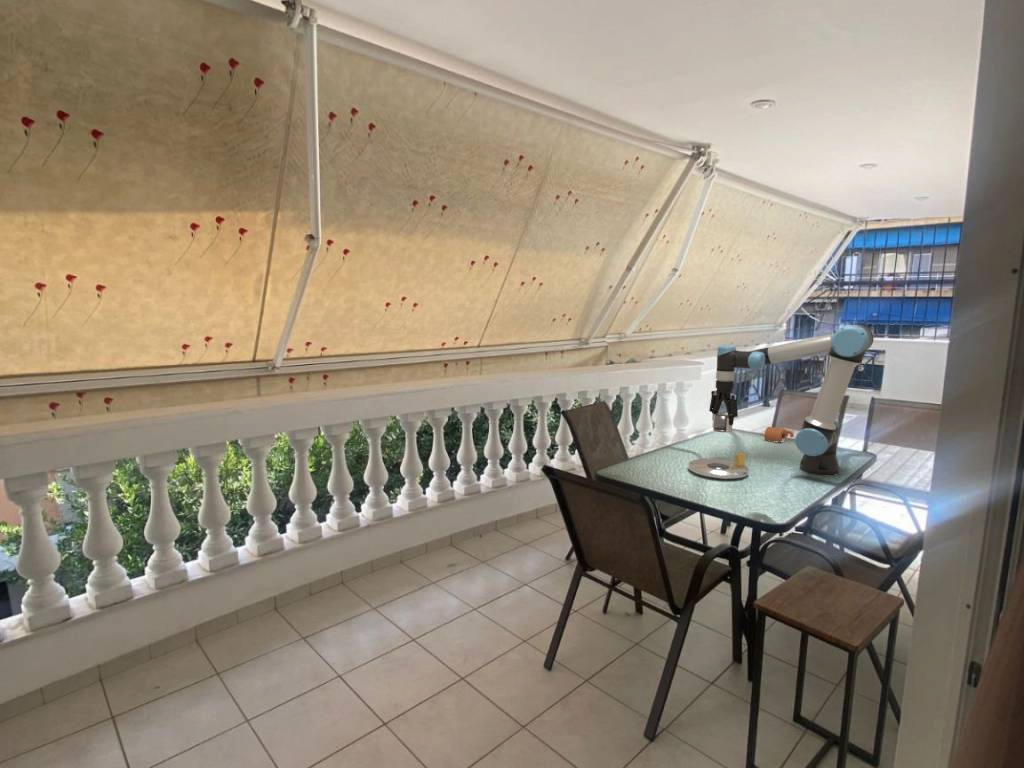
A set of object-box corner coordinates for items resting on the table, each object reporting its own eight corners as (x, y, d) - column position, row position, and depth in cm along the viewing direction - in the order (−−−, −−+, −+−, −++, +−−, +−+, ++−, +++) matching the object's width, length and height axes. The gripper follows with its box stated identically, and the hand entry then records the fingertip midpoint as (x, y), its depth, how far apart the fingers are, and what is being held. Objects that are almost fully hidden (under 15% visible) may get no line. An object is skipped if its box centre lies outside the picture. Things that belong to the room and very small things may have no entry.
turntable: (706, 480, 222) (707, 464, 221) (678, 463, 246) (679, 449, 245) (760, 476, 226) (761, 461, 225) (728, 460, 250) (729, 446, 249)
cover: (734, 431, 248) (735, 415, 247) (721, 433, 245) (722, 417, 244) (722, 427, 255) (723, 412, 254) (709, 429, 252) (710, 414, 251)
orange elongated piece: (779, 445, 280) (780, 430, 279) (763, 442, 286) (764, 427, 285) (796, 439, 293) (797, 424, 292) (780, 436, 299) (781, 422, 298)
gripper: (749, 382, 239) (745, 433, 242) (714, 376, 257) (712, 424, 261) (735, 383, 236) (732, 435, 239) (702, 377, 254) (700, 425, 258)
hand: (722, 429), depth 250 cm, fingers closed on cover, 7 cm apart
